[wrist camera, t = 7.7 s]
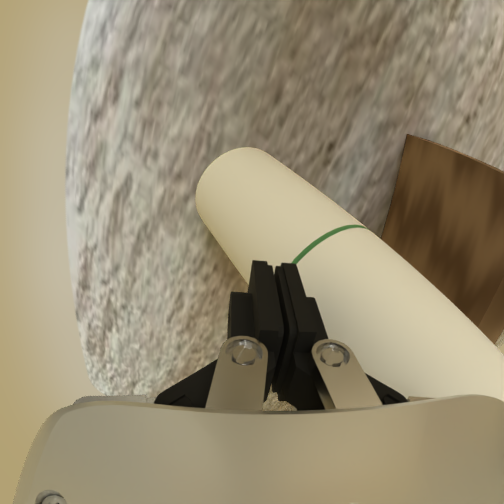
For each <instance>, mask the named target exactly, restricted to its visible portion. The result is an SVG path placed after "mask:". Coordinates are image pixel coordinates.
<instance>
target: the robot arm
mask: <svg viewBox="0 0 504 504" xmlns="http://www.w3.org/2000/svg"><path fill="white" fill-rule="evenodd" d="M271 384H272V391H273V392H277V394H278V401H287V402H288V403H290V404H291V405H292V406H291V411H262V409H263V403H264V402H265V401H266V400H267V397H268V393H269V390H270V386H271ZM13 504H504V402H503V401H501V400H499V399H497V398H494V397H490V396H485V395H477V394H466V395H455V396H447V397H440V398H427V397H414V396H409V397H408V398H407V399H406V398H405V397H404V396H403V395H402V394H400V393H399V392H397V391H396V390H394V389H392V388H390V387H389V386H387V385H385V384H383V383H382V382H380V381H378V380H376V379H375V378H373V377H371V376H370V375H368V374H366V373H365V372H364V371H363V369H362V367H361V365H360V364H359V362H358V360H357V358H356V357H355V355H354V353H353V352H352V350H351V349H350V348H349V347H348V346H347V345H345V344H344V343H342V342H340V341H337V340H333V339H328V335H327V332H326V329H325V326H324V323H323V320H322V317H321V314H320V311H319V308H318V305H317V302H316V300H315V298H314V297H306V294H305V290H304V287H303V284H302V281H301V278H300V274H299V271H298V268H297V265H296V264H294V263H281V265H280V266H276V267H275V271H274V272H273V266H272V265H268V263H267V261H258V260H253V261H252V266H251V273H250V280H249V287H248V293H242V292H231V295H230V304H229V314H228V337H227V340H226V341H225V342H224V343H223V344H222V346H221V349H220V353H219V357H218V359H217V360H215V361H213V362H212V363H210V364H209V365H207V366H205V367H204V368H202V369H200V370H199V371H197V372H195V373H194V374H192V375H190V376H189V377H187V378H185V379H184V380H182V381H180V382H179V383H177V384H175V385H173V386H172V387H170V388H168V389H166V390H165V391H163V392H162V393H160V394H159V395H158V396H157V397H154V398H146V395H126V396H86V397H82V398H80V399H78V400H76V401H75V402H74V404H73V405H70V406H67V407H64V408H61V409H59V410H57V411H56V412H54V413H53V414H52V415H50V416H49V417H48V418H47V420H46V421H45V422H44V423H43V425H42V426H41V428H40V430H39V431H38V433H37V435H36V437H35V439H34V441H33V443H32V446H31V448H30V450H29V452H28V455H27V457H26V460H25V463H24V467H23V469H22V472H21V475H20V479H19V482H18V486H17V489H16V493H15V497H14V501H13Z"/></svg>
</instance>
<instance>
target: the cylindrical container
mask: <svg viewBox="0 0 504 504" xmlns="http://www.w3.org/2000/svg"><path fill="white" fill-rule="evenodd" d="M195 203H196V208H197V211H198V213H199V215H200V217H201V219H202V220H203V222H204V223H205V225H206V226H207V227H208V229H209V230H210V232H211V233H212V235H213V236H214V237H215V239H216V240H217V242H218V243H219V244H220V246H221V247H222V249H223V250H224V252H225V253H226V254H227V256H228V257H229V259H230V260H231V261H232V263H233V264H234V266H235V267H236V268H237V270H238V271H239V273H240V274H241V275H242V277H243V278H244V280H245V281H246V282H247V284H248V285H249V280H250V273H251V266H252V261H253V260H258V261H267V263H268V265H272V266H273V272H274V271H275V267H276V266H280V265H281V263H294V264H296V265H297V268H298V271H299V274H300V278H301V281H302V284H303V287H304V290H305V294H306V297H314V298H315V300H316V302H317V305H318V308H319V311H320V314H321V317H322V320H323V323H324V326H325V329H326V332H327V335H328V339H333V340H337V341H340V342H342V343H344V344H345V345H347V346H348V347H349V348H350V349H351V350H352V352H353V353H354V355H355V357H356V358H357V360H358V362H359V364H360V365H361V367H362V369H363V371H364V372H365V373H366V374H368V375H370V376H371V377H373V378H375V379H376V380H378V381H380V382H382V383H383V384H385V385H387V386H389V387H390V388H392V389H394V390H396V391H397V392H399V393H400V394H402V395H403V396H404V397H405V398H406V399H407V398H408V397H409V396H414V397H427V398H440V397H447V396H455V395H466V394H477V395H485V396H490V397H494V398H497V399H499V400H501V401H503V402H504V355H503V353H502V352H501V351H500V350H499V349H498V348H497V347H496V346H495V345H494V344H493V343H492V342H491V341H490V340H489V339H488V338H487V337H486V336H485V335H484V334H483V333H482V332H481V330H480V329H479V328H478V327H477V326H476V325H475V324H474V323H473V322H472V321H471V320H470V319H469V318H467V317H466V316H465V315H464V314H463V313H462V312H461V311H460V310H459V309H458V308H457V307H456V306H455V305H454V304H453V303H452V302H451V301H450V300H449V299H448V298H447V297H446V296H445V295H444V294H442V293H441V292H440V291H439V290H438V289H437V288H436V287H435V286H434V285H433V284H432V283H431V282H429V281H428V280H427V279H426V278H425V277H424V276H423V275H422V274H421V273H419V272H418V271H417V270H416V269H415V268H414V267H413V266H412V265H410V264H409V263H408V262H407V261H406V260H405V259H404V258H402V257H401V256H400V255H399V254H398V253H397V252H395V251H394V250H393V249H392V248H391V247H389V246H388V245H387V244H386V243H385V242H384V241H382V240H381V239H380V238H379V237H378V236H376V235H375V234H374V233H373V232H371V231H370V230H369V229H368V228H367V227H365V226H364V225H363V224H362V223H360V222H359V221H358V220H357V219H355V218H354V217H353V216H352V215H350V214H349V213H348V212H346V211H345V210H344V209H343V208H341V207H340V206H339V205H337V204H336V203H335V202H334V201H332V200H331V199H330V198H328V197H327V196H326V195H324V194H323V193H322V192H320V191H319V190H318V189H316V188H315V187H314V186H312V185H311V184H310V183H308V182H307V181H306V180H304V179H303V178H301V177H300V176H299V175H297V174H296V173H295V172H293V171H292V170H290V169H289V168H288V167H286V166H285V165H283V164H282V163H281V162H279V161H278V160H276V159H275V158H273V157H272V156H271V155H269V154H268V153H266V152H265V151H262V150H260V149H258V148H252V147H243V148H237V149H234V150H230V151H228V152H226V153H224V154H222V155H221V156H219V157H218V158H217V159H215V160H214V161H213V162H212V163H211V164H210V165H209V166H208V167H207V169H206V170H205V171H204V173H203V174H202V176H201V178H200V180H199V183H198V185H197V189H196V195H195Z"/></svg>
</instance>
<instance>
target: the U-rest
mask: <svg viewBox="0 0 504 504" xmlns="http://www.w3.org/2000/svg"><path fill="white" fill-rule="evenodd" d="M381 240H382V241H384V242H385V243H386V244H387V245H388V246H389V247H391V248H392V249H393V250H394V251H395V252H397V253H398V254H399V255H400V256H401V257H402V258H404V259H405V260H406V261H407V262H408V263H409V264H410V265H412V266H413V267H414V268H415V269H416V270H417V271H418V272H419V273H421V274H422V275H423V276H424V277H425V278H426V279H427V280H428V281H429V282H431V283H432V284H433V285H434V286H435V287H436V288H437V289H438V290H439V291H440V292H441V293H442V294H444V295H445V296H446V297H447V298H448V299H449V300H450V301H451V302H452V303H453V304H454V305H455V306H456V307H457V308H458V309H459V310H460V311H461V312H462V313H463V314H464V315H465V316H466V317H467V318H469V319H470V320H471V321H472V322H473V323H474V324H475V325H476V326H477V327H478V328H479V329H480V330H481V332H482V333H483V334H484V335H485V336H486V337H487V338H488V339H489V340H490V341H491V342H492V343H493V344H495V343H496V341H497V339H498V338H499V336H500V335H501V333H502V331H503V329H504V172H503V171H501V170H499V169H497V168H495V167H493V166H491V165H488V164H486V163H484V162H482V161H480V160H477V159H475V158H473V157H470V156H468V155H466V154H463V153H461V152H458V151H456V150H453V149H451V148H448V147H446V146H443V145H441V144H438V143H435V142H432V141H429V140H426V139H423V138H419V137H416V136H412V135H409V134H407V138H406V142H405V147H404V152H403V156H402V161H401V165H400V169H399V174H398V178H397V182H396V186H395V190H394V194H393V198H392V201H391V205H390V209H389V213H388V216H387V220H386V223H385V227H384V230H383V234H382V237H381Z"/></svg>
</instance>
